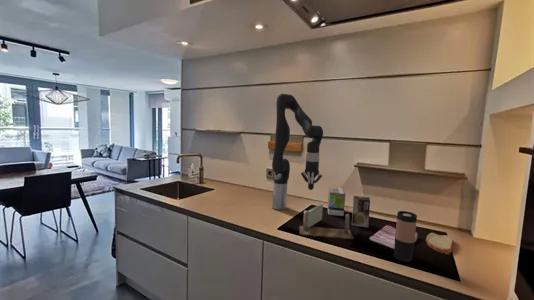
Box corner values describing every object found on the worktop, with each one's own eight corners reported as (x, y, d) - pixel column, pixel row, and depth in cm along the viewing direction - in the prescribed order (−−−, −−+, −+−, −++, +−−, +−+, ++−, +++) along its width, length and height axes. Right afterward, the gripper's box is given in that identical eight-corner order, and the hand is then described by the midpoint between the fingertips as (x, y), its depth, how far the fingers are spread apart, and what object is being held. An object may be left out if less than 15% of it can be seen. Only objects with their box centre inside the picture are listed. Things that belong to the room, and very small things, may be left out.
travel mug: (389, 253, 119) (393, 210, 117) (405, 253, 119) (410, 210, 117) (399, 262, 111) (404, 217, 109) (416, 262, 112) (421, 217, 110)
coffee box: (367, 223, 154) (370, 197, 152) (368, 228, 147) (370, 200, 146) (351, 221, 156) (353, 195, 155) (351, 225, 150) (353, 198, 149)
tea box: (344, 216, 165) (345, 193, 163) (327, 214, 167) (329, 192, 165) (342, 209, 179) (343, 187, 178) (327, 207, 181) (328, 186, 180)
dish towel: (418, 239, 137) (419, 232, 136) (405, 254, 120) (405, 247, 119) (384, 229, 148) (385, 223, 148) (368, 241, 131) (368, 235, 131)
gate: (307, 228, 140) (308, 212, 139) (305, 227, 141) (306, 211, 140) (322, 219, 155) (323, 204, 154) (319, 218, 156) (320, 204, 155)
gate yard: (299, 234, 135) (300, 214, 134) (299, 227, 145) (300, 207, 144) (353, 239, 132) (355, 218, 131) (349, 231, 142) (350, 211, 141)
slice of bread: (444, 255, 119) (445, 248, 119) (412, 238, 137) (413, 231, 136) (473, 252, 124) (474, 244, 124) (439, 235, 141) (440, 229, 141)
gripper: (299, 159, 151) (297, 189, 153) (321, 162, 145) (319, 192, 146) (304, 158, 157) (302, 186, 159) (325, 160, 151) (323, 190, 153)
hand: (310, 189), depth 153 cm, fingers closed
